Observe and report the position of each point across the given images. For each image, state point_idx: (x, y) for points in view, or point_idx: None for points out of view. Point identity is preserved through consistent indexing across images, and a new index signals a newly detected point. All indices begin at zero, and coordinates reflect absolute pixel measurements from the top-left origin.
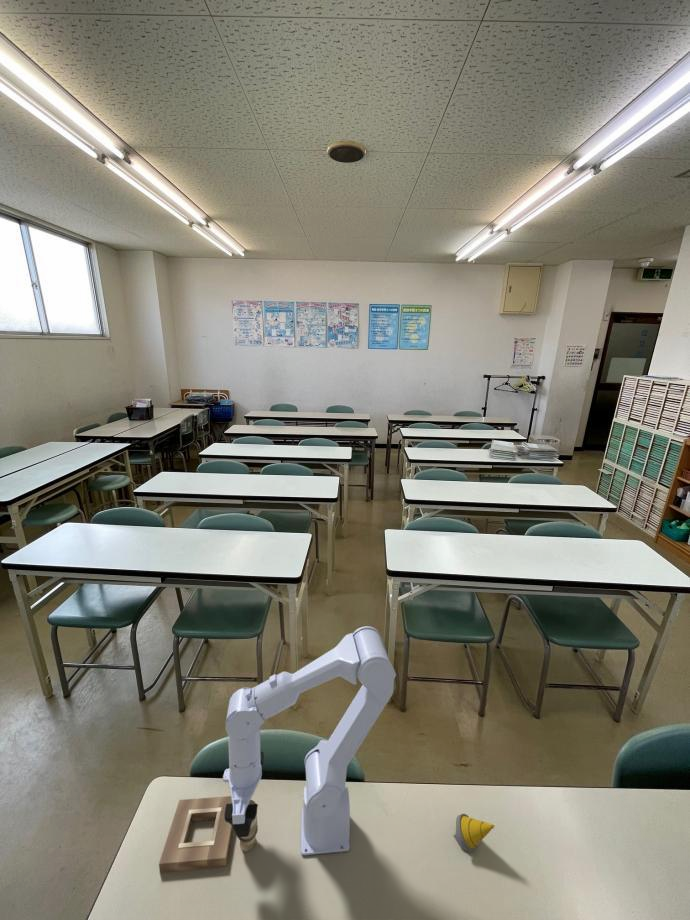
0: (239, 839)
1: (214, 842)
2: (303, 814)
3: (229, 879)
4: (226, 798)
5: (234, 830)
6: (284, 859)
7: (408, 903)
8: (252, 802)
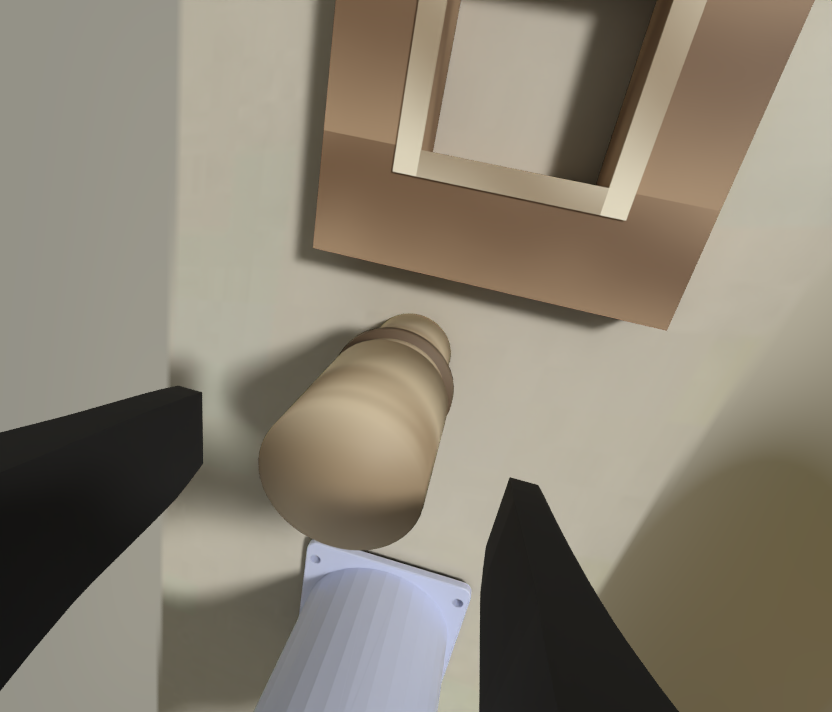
0: (352, 339)
1: (407, 176)
2: (344, 667)
3: (282, 256)
4: (682, 256)
5: (96, 407)
6: None
7: (173, 704)
8: (387, 531)
